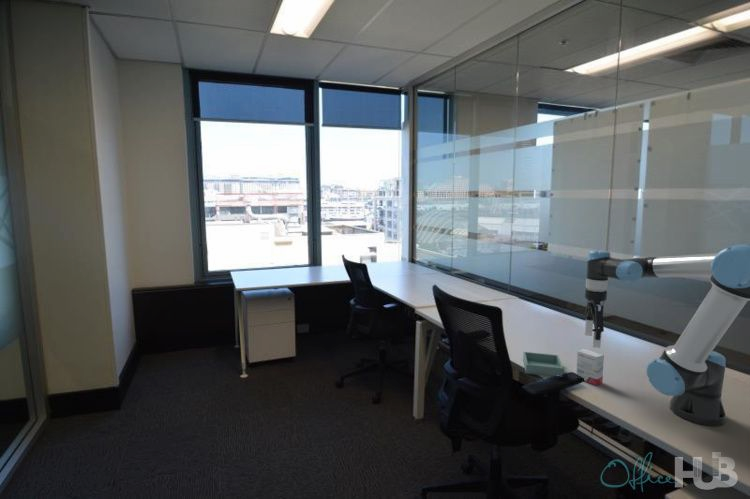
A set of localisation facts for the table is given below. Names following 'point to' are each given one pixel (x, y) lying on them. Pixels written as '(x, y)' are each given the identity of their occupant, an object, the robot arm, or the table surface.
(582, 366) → the ink box
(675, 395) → the robot arm
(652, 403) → the table surface
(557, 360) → the bin
